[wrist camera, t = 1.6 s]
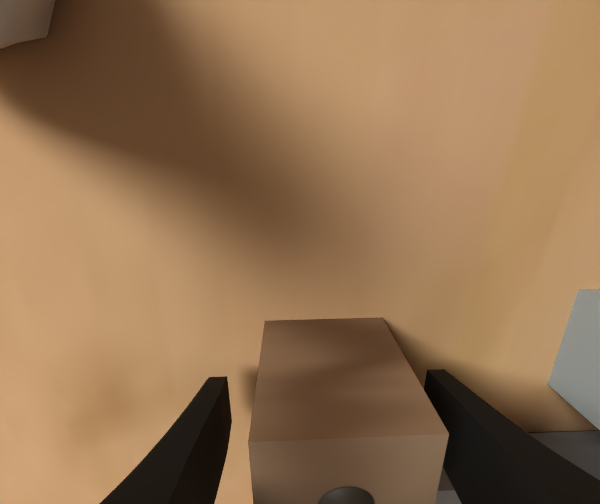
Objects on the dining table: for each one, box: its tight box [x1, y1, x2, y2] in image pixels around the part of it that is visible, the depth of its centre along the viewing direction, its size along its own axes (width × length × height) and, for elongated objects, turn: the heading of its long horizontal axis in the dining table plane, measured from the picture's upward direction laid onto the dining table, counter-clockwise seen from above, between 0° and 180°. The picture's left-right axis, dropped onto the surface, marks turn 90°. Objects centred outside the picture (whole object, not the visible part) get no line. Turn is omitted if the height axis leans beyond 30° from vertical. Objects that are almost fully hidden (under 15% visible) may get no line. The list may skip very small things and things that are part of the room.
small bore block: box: [248, 318, 449, 504], centre depth 10 cm, size 4×4×5 cm
